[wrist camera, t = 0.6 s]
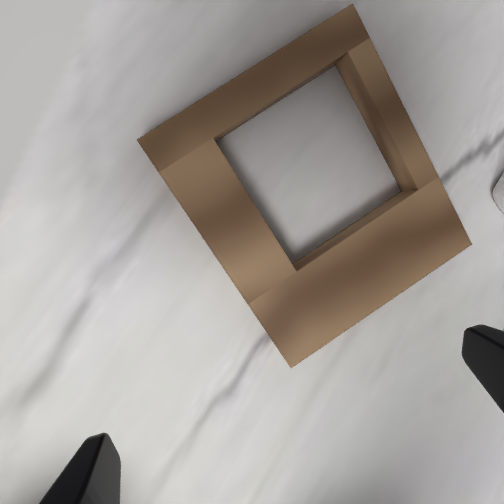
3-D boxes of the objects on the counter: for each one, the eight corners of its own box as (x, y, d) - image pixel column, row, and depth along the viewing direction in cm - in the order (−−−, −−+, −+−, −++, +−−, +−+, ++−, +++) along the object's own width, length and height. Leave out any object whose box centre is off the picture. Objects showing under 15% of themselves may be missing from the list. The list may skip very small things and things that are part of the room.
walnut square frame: (451, 241, 24) (472, 244, 22) (284, 355, 23) (291, 368, 21) (339, 20, 20) (352, 3, 19) (142, 145, 20) (136, 139, 18)
